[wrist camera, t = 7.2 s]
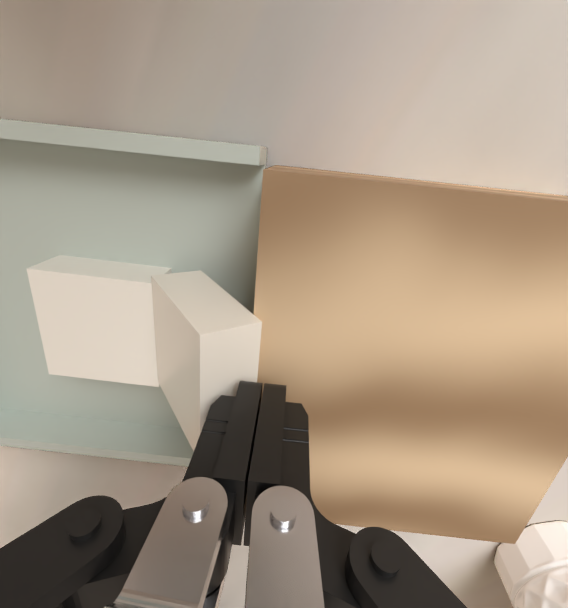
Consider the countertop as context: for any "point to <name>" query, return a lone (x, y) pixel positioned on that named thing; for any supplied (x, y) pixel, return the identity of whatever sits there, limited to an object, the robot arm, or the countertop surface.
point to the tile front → (201, 345)
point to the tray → (113, 247)
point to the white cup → (536, 566)
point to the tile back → (96, 318)
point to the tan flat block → (418, 345)
